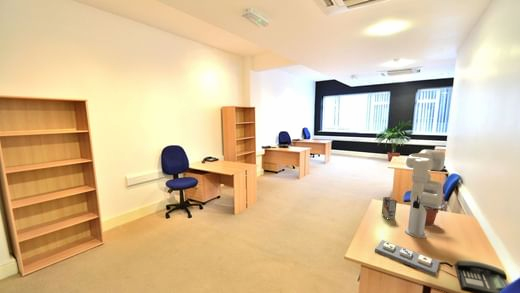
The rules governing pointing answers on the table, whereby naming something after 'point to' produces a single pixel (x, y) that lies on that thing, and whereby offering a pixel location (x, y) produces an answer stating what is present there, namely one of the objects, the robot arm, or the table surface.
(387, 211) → the coffee box
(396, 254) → the keypad board
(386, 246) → the tile
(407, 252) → the white small block
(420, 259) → the tile
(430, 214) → the potted plant
